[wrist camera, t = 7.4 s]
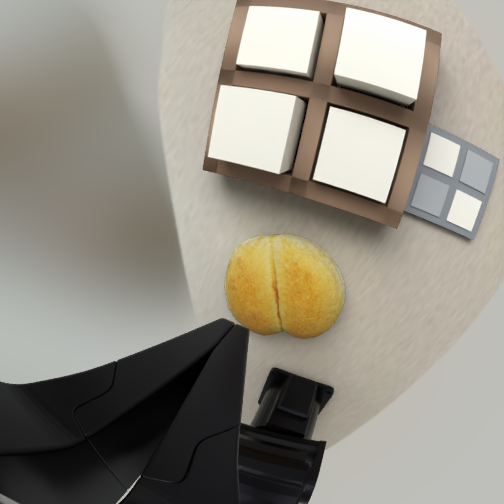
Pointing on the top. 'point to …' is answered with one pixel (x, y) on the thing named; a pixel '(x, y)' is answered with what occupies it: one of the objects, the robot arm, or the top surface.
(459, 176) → the pattern card
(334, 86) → the brown flat square grid
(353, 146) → the button
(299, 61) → the button
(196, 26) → the top surface
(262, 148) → the button
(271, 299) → the bread roll
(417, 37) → the button
